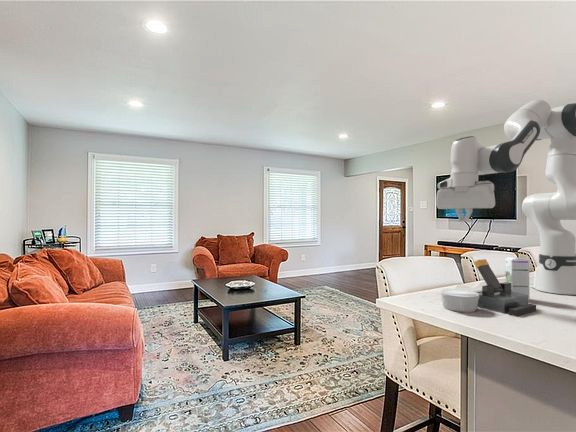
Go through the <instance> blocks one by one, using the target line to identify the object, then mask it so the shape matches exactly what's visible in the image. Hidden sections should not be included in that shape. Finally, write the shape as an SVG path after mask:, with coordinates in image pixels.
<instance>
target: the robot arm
mask: <svg viewBox="0 0 576 432" xmlns="http://www.w3.org/2000/svg"><path fill="white" fill-rule="evenodd" d="M503 131H504V135H505V136H506V137H507V139H509V140H510V141H504V142H503V143H499V144H494V145H490V146H484V145H482V144H481V143H480V142H479V141H478V139H477V136H472V135H471V136H469V135H468V136H465V137H464V136H463V137H460V138H457V139H455V140H454V141H453V142H452V145H451V149H450V150H451V151H450V165H451V172H450V177H449V178H446V179H444V180H442V181H440V182H438V183H437V189H438V190H437V193H436V198H435V204H436V205H435V206H436V208H437V209H438V210H455V213H456V215H457V217H458V222H462V223H465V222H466V223H467V222H468V223H469V222H470V216H471V215H472V213H473V212H474V211H473V209H493V208H494V207H495V206H496V197H495V184H494V182H492V181H490V180H480V181H479V176H484V175H490V174H491V175H493V174H498V173H499V174H500V173H512V172H514V171H516V170H517V169H518V168H519V167H520V165H521V163H522V162H523V159H524V156H525V155H526V153H528V151H529V149H530V148H531V147H532V145H534V143H535V142H536V141H541V140H544V139H545V140H546V139H547V140H548V139H549V140H550V145H549V148H548V153H547V158H546V164H545V165H546V166H545V171H544V175H545V178H546V179H547V181H549V182H550V183H552V184H555V185H556V187H557V188H556V189H557V191H553V192H549V191H548V192H539V193H534V194H531V195H527V196H526V197H524V199H523V201H522V203H521V209H522V213H523V214H524V216H525V217H526V218H528V219H529V220H530V221H531V222H532V223H533V224H534V225H535V228H536V229H537V232H538V235H539V249H540V251H539V253H540V254H538V263H539V264H538V265H537V266H536V267H535V268H534V269H535V270H534V278H533V279H534V281H533V284H531V283H530V288H532V289H534V290H537V291H540V292H544V293H550V294H556V295H557V294H558V295H567V296H568V295H569V296H571V295H572V296H576V236H575V234H574V233H573V232H571V231H569V230H568V229H566V228H565V227H563V225H562V223H561V220H563V221H567V220H568V221H572V220H573V221H576V102H574V103H568V104H566V105H560V106H556V107H553V108H552V106H551V105H550V104H549V102H547V101H545V100H542V99H535V100H531V101H529V102H527V103H526V104H524V105H522V106H521V107H519V108H518V109H517V110H516V111H515V112H513V113H512V114H511V115H510V116H509V117H508V118H507V119H506V121H504V124H503ZM463 209H464V211H465V215H463Z"/></svg>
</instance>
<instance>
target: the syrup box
mask: <svg viewBox="0 0 576 432" xmlns="http://www.w3.org/2000/svg"><path fill="white" fill-rule="evenodd" d="M505 282H508V283H511V292H514V293H520V294H526V295H528V302H529V301H530V292H531V291H530V259H527V258H524V257H516V256H513V257H509V256H508V257H505Z"/></svg>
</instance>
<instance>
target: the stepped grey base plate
mask: <svg viewBox="0 0 576 432" xmlns="http://www.w3.org/2000/svg"><path fill="white" fill-rule="evenodd" d="M499 283H500V284H501V286H502V288H503V291H502V292H498V293H494V286H493V285H487V284H486V285H482V286H481V287H482V288H481V289H478V290H473V291H474V292H477V293H479V295H480V297H479V299H478V305H477V308H480V309H484V310H488V311H493V312H497V313H501V314H507V313H508V314H509V309H510V308H514V307H519V306H523V305H527V304H529V301H528V295H526V294H520V293H514V292H511V283H508V282H506V281H504V282H499Z"/></svg>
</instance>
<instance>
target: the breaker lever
mask: <svg viewBox="0 0 576 432" xmlns="http://www.w3.org/2000/svg"><path fill="white" fill-rule="evenodd" d="M473 264H474V265H475V268H477V270H478V271H479V273H480V276H481V277H482V278H483V281H484V282H485V283H486V285H493V286H494V293H498V292H502V291H503V288H502V286H501V284H500V283H501V282H500V281H499V280H498V278H497V276H496V275H495V273H494V271H493V269H492V268H491V267H490V264H489V262H488V261H487V259H486V258H485V259H477V260H475V261H473Z"/></svg>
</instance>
